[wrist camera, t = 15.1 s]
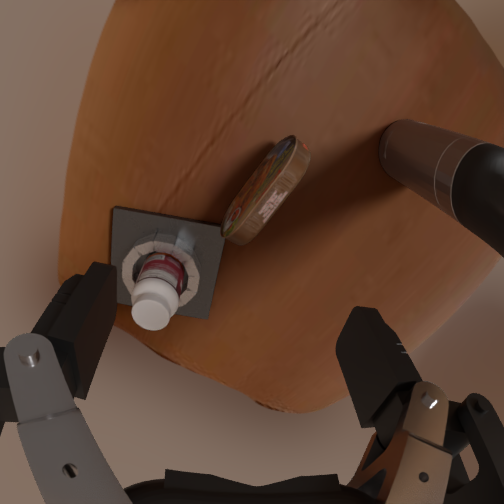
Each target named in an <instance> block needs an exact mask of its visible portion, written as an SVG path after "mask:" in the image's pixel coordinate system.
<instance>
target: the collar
mask: <svg viewBox="0 0 504 504" xmlns="http://www.w3.org/2000/svg"><path fill="white" fill-rule="evenodd" d="M220 229H221V224H216V223H210V222H205V221H200V220H194V219H189V218H183V217H178V216H172V215H167V214H161V213H155V212H150V211H144V210H138V209H132V208H127V207H121V206H115V207H114V209H113V225H112V248H111V265H114V266H116V267H117V303H121V304H125V305H130V306H133V305H132V301H131V295H132V291H133V288H134V286H135V283H136V281H137V278H138V276H139V273H140V271H141V268H142V266H143V264H144V262H145V260H146V259H147V257H148V256H150V255H151V254H153V253H156V252H162V253H168V254H171V255H172V256H174V257H175V258H176V259H178V260H179V261H180V262H182V264H183V267H184V278H183V284H182V290H181V294H180V299H179V305H178V308H177V311H176V312H175V314H178V315H184V316H189V317H195V318H201V319H208V316H209V311H210V306H211V302H212V297H213V292H214V287H215V283H216V278H217V273H218V269H219V264H220V260H221V255H222V251H223V246H224V242H225V238H222V237H221V235H220Z"/></svg>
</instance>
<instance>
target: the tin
mask: <svg viewBox="0 0 504 504" xmlns="http://www.w3.org/2000/svg"><path fill="white" fill-rule="evenodd" d="M310 159H311V153H310V150H309V148H308V147H307V146H306V145H305V144H303V143H302V142H301V141H299V140H298V139H297V137H296V136H294V135H290V136H288V137H286V138H284V139H283V140H281V141H280V142H279V143H277V144H276V145H275V146H274V147H273V148H272V150H271V151H270V152H269V153H268V154H267V156H266V157H265V158H264V160H263V161H262V162H261V163H260V165H259V166H258V168H257V169H256V170H255V172H254V173H253V174H252V175H251V177H250V178H249V179H248V181H247V182H246V183H245V185H244V186H243V187H242V189H241V190H240V191H239V193H238V194H237V195H236V197H235V198H234V200H233V201H232V203H231V204H230V206H229V208H228V210H227V212H226V214H225V216H224V218H223V221H222V224H221V229H220V235H221V237H222V238H226V239H228V240H229V241H231V242H233V243H235V244H237V245H245V244H247V243H249V242H250V241H251V240H253V239H254V238H255V237H256V236H257V235H258V234H259V233H260V231H261V230H262V229H263V228H264V226H265V225H266V224H267V223H268V221H269V220H270V219H271V218H272V216H273V215H274V214H275V213H276V211H277V210H278V209H279V208H280V206H281V205H282V204H283V203H284V201H285V200H286V199H287V197H288V196H289V195H290V194H291V192H292V191H293V190H294V189H295V187H296V186H297V185H298V183H299V182H300V181H301V179H302V178H303V176H304V174H305V172H306V170H307V168H308V166H309V163H310Z"/></svg>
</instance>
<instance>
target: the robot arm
mask: <svg viewBox="0 0 504 504" xmlns="http://www.w3.org/2000/svg"><path fill="white" fill-rule="evenodd" d="M379 158H380V162H381V165H382V167H383V169H384V170H385V172H386V173H387V174H388V175H389V176H391V177H392V178H394V179H395V180H397V181H398V182H400V183H402V184H403V185H404V186H406V187H408V188H409V189H411V190H412V191H414V192H415V193H417V194H418V195H420V196H421V197H423V198H424V199H426V200H427V201H429V202H430V203H432V204H433V205H435V206H436V207H438V208H439V209H440V210H442V211H443V212H445V213H446V214H448V215H449V216H451V217H452V218H453V219H455V220H456V221H457V222H459V223H460V224H462V225H463V226H464V227H466V228H467V229H468V230H470V231H471V232H473V233H474V234H475V235H477V236H478V237H479V238H481V239H482V240H483V241H485V242H486V243H487V244H489V245H490V246H491V247H492V248H493V249H495V250H496V251H497V252H498V253H499V254H500V255H501V256H502V257H504V148H502V147H499V146H497V145H494V144H491V143H488V142H485V141H482V140H479V139H476V138H473V137H470V136H467V135H463V134H460V133H457V132H454V131H450V130H447V129H443V128H440V127H436V126H432V125H429V124H425V123H421V122H417V121H413V120H408V119H405V120H399V121H396V122H394V123H393V124H391V125H390V126H389V127H388V128H387V129H386V130H385V132H384V133H383V135H382V138H381V140H380V144H379ZM116 311H117V267H116V266H114V265H109V264H104V263H99V262H93V263H92V264H91V266H90V267H89V269H88V270H87V272H86V273H85V275H80V274H75V275H74V276H72V277H71V278H69V279H68V280H66V281H65V282H64V283H63V284H62V286H61V287H60V289H59V290H58V293H57V294H56V295H55V296H54V298H53V299H52V302H50V303H49V305H48V306H47V308H46V310H45V311H44V313H43V314H42V316H41V317H40V319H39V320H38V322H37V323H36V325H35V327H34V328H33V330H32V332H31V333H26V334H22V335H19V336H16V337H15V338H13V339H12V340H11V341H10V342H9V343H8V344H7V345H6V347H0V435H1V432H2V429H3V426H4V423H5V421H6V422H19V423H18V424H17V429H18V433H19V437H20V440H21V443H22V446H23V449H24V452H25V455H26V457H27V460H28V463H29V466H30V468H31V471H32V473H33V476H34V478H35V481H36V483H37V485H38V488H39V490H40V492H41V495H42V497H43V499H44V501H45V503H46V504H504V427H503V425H502V423H501V421H500V419H499V417H498V415H497V413H496V411H495V410H494V408H493V406H492V405H491V403H490V402H489V401H488V400H487V399H486V398H485V397H484V396H482V395H480V394H477V393H472V394H470V395H468V396H467V398H466V399H465V400H464V401H463V402H462V403H458V402H454V401H449V400H448V398H447V396H446V394H445V393H444V392H443V390H442V389H441V388H440V387H438V386H437V385H435V384H433V383H431V382H428V381H422V379H421V377H420V375H419V373H418V371H417V370H416V368H415V366H414V364H413V362H412V360H411V359H410V357H409V355H408V354H406V350H405V348H404V346H403V345H401V344H402V343H401V341H400V339H399V338H398V336H397V334H396V333H395V332H394V331H393V330H392V329H391V328H390V327H389V326H388V325H387V324H386V323H385V322H384V320H383V319H382V317H381V315H380V313H379V312H378V310H377V309H375V308H368V307H360V306H356V307H354V308H353V310H352V311H351V313H350V315H349V317H348V319H347V321H346V323H345V325H344V327H343V329H342V331H341V333H340V335H339V337H338V340H337V343H336V356H337V359H338V361H339V364H340V367H341V370H342V373H343V375H344V378H345V381H346V384H347V387H348V390H349V393H350V396H351V398H352V401H353V404H354V407H355V410H356V413H357V416H358V419H359V422H360V425H361V428H369V427H375V429H376V432H375V433H374V434H373V435H372V437H371V440H370V442H369V444H368V446H367V448H366V451H365V453H364V455H363V457H362V460H361V462H360V464H359V466H358V468H357V470H356V472H355V474H354V476H353V478H352V479H351V481H350V482H349V483H348V484H347V485H346V486H345V485H341V484H339V480H338V475H337V474H329V475H316V476H299V477H296V478H292V479H288V480H285V481H281V482H277V483H273V484H269V485H264V486H257V487H256V486H251V485H247V484H243V483H239V482H235V481H232V480H228V479H224V478H220V477H217V476H214V475H211V474H200V473H191V472H182V471H175V470H168V469H165V479H156V480H150V481H144V482H141V483H137V484H134V485H131V486H129V487H126V488H124V489H123V488H122V487H121V485H120V483H119V482H118V480H117V478H116V477H115V475H114V473H113V472H112V470H111V468H110V466H109V465H108V463H107V461H106V459H105V458H104V456H103V454H102V452H101V451H100V449H99V447H98V445H97V443H96V441H95V439H94V437H93V435H92V433H91V431H90V429H89V427H88V425H87V423H86V421H85V419H84V417H83V415H82V413H81V411H80V409H79V408H77V406H76V404H75V402H74V400H73V399H74V397H77V398H80V399H84V400H86V397H87V393H88V391H89V388H90V385H91V382H92V379H93V377H94V374H95V371H96V368H97V365H98V363H99V360H100V357H101V354H102V352H103V349H104V347H105V344H106V342H107V339H108V336H109V334H110V331H111V329H112V326H113V324H114V321H115V317H116ZM469 444H470V445H471V447H472V449H473V452H474V454H475V456H476V459H477V461H478V464H479V472H478V475H477V476H476V478H474V479H473V480H471V481H470V480H469V478H468V475H467V472H466V470H465V467H464V465H463V462H462V460H461V457H460V455H459V453H460V452H461V451H462V450H463V449H464V448H466V447H467V446H468V445H469Z"/></svg>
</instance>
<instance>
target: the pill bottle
mask: <svg viewBox="0 0 504 504" xmlns="http://www.w3.org/2000/svg"><path fill="white" fill-rule="evenodd" d="M183 278H184V267H183V264H182V262H180V261H179V260H178V259H176V258H175V257H174V256H172V255H171V254H168V253H162V252H156V253H153V254H151V255H150V256H148V257H147V259H146V260H145V262H144V264H143V266H142V268H141V271H140V273H139V276H138V278H137V281H136V283H135V286H134V288H133V291H132V295H131V301H132V305H133V307H132V317H133V319H134V321H135V322H136V323H137V324H138V325H139V326H141V327H143V328H145V329H148V330H160V329H162V328H164V327H165V326H166V325H167V324H168V322H169V319H170V317H172V316H173V315H174V314H175V312H176V311H177V308H178V305H179V299H180V294H181V290H182V284H183Z"/></svg>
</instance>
